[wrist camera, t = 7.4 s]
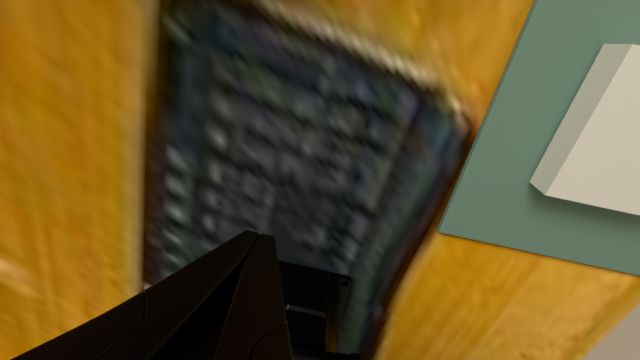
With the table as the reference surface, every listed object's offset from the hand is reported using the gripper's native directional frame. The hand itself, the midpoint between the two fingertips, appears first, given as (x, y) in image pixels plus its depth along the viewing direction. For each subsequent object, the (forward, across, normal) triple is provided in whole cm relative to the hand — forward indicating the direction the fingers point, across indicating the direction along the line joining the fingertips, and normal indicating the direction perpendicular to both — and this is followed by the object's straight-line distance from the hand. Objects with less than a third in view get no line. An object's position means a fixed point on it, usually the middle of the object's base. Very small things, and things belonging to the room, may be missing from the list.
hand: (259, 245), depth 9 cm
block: (+11, -14, -4) cm, 18 cm away
